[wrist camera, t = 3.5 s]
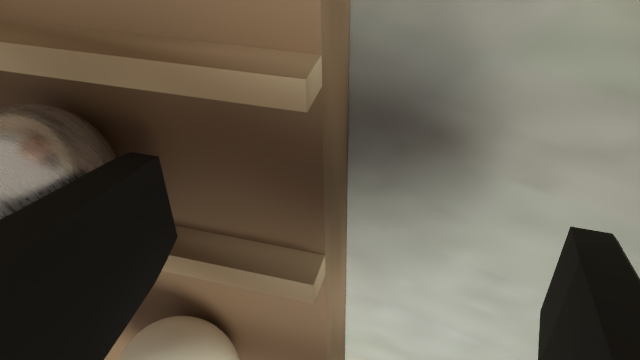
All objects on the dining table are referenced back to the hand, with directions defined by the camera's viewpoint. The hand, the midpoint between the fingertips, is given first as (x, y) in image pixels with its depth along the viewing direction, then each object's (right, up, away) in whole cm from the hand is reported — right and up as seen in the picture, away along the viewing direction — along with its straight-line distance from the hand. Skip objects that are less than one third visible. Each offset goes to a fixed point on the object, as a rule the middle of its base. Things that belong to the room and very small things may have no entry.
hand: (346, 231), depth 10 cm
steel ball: (-6, +1, +1) cm, 6 cm away
